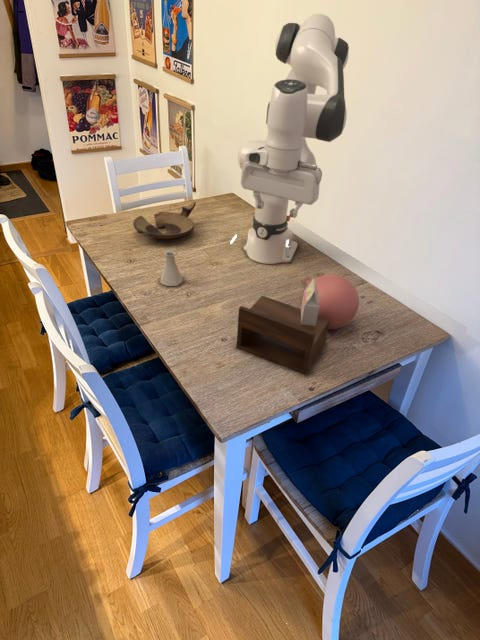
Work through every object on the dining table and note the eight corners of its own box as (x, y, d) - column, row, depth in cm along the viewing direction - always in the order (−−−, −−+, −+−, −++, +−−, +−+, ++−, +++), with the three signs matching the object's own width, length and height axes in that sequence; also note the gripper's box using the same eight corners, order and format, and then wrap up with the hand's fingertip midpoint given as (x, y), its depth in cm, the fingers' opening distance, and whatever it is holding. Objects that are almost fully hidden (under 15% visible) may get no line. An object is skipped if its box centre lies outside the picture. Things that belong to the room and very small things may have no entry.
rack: (259, 321, 127) (263, 283, 119) (324, 345, 120) (333, 306, 112) (236, 347, 117) (238, 308, 109) (305, 375, 110) (313, 334, 102)
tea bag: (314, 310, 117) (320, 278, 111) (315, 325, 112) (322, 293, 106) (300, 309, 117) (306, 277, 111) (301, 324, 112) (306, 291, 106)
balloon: (320, 296, 140) (329, 253, 130) (363, 331, 126) (376, 285, 117) (280, 307, 133) (287, 263, 124) (321, 346, 119) (331, 299, 110)
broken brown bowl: (122, 229, 170) (120, 211, 165) (189, 215, 185) (189, 197, 180) (148, 253, 156) (147, 233, 151) (218, 235, 170) (219, 217, 166)
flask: (178, 288, 138) (177, 260, 132) (156, 285, 139) (155, 257, 133) (185, 277, 144) (184, 250, 138) (164, 273, 145) (163, 246, 139)
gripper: (327, 163, 103) (318, 218, 112) (251, 147, 111) (247, 199, 119) (318, 169, 99) (309, 226, 107) (239, 152, 106) (236, 207, 114)
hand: (276, 212), depth 113 cm, fingers open, 8 cm apart
